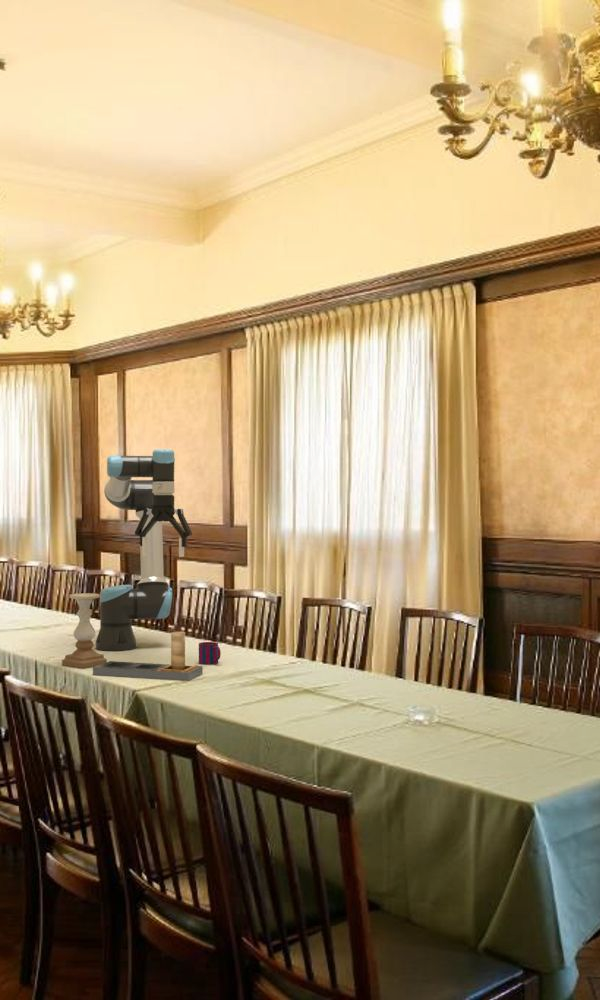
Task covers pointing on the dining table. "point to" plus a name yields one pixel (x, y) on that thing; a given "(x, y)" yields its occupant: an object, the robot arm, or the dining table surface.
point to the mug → (209, 653)
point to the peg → (178, 650)
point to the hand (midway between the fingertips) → (163, 556)
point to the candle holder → (84, 636)
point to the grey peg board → (147, 670)
